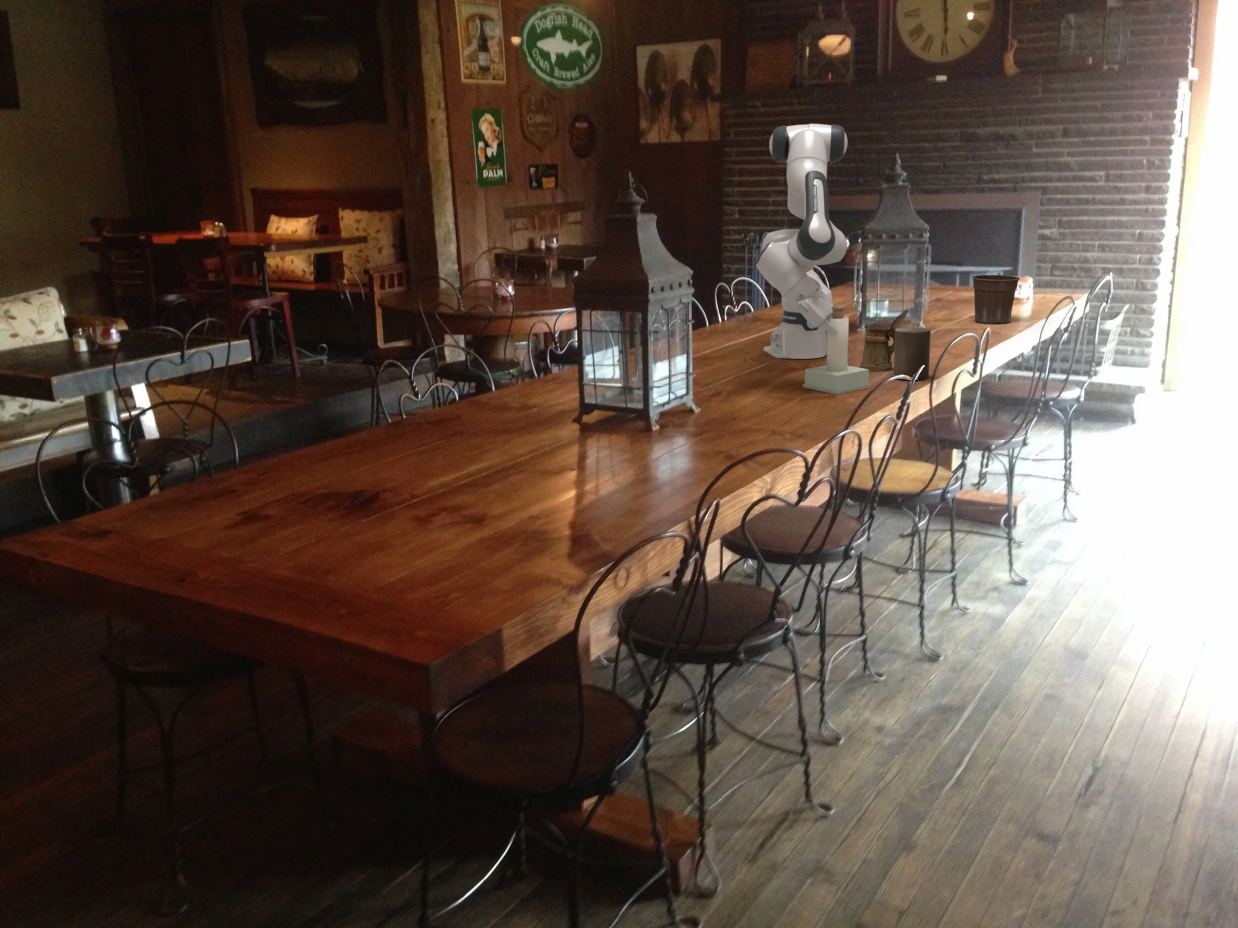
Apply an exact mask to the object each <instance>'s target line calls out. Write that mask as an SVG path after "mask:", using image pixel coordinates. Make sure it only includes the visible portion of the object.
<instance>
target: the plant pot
mask: <svg viewBox="0 0 1238 928" xmlns="http://www.w3.org/2000/svg"><path fill="white" fill-rule="evenodd" d="M971 278H972V281H973V282H972V283H973V285H972V288H973V289H974V291H973V295H974V322H977V323H980V324H984V325H985V324H986V325H997V324H1000V325H1005V324H1009V323H1010V322H1011V317H1012V311H1013V307H1014V300H1015V295H1016V290H1018V289H1017V288H1018V283H1019V280H1020V279H1021V278H1020V277H1019V276H1014V275H1006V274H978V275H973V276H971Z"/></svg>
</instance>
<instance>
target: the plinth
mask: <svg viewBox="0 0 1238 928" xmlns="http://www.w3.org/2000/svg"><path fill="white" fill-rule="evenodd" d="M869 374H870V372H869V369H863V368H860V367H857V366H854V365H853V366H852V365H848V369H847V370H845V371H829V370H827V364H826V365H821V366H815V367H810V368H805V369H804V383H802V388H806V389H810V390H813V391H819V392H824V393H829V394H833V395H841V394H846V393H851V392H855V391H856V392H857V391H860V390H866V389H871V384H869V379H870V378H869V377H870V375H869Z"/></svg>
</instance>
